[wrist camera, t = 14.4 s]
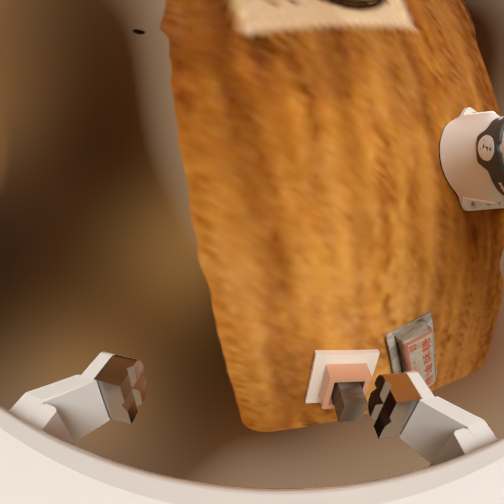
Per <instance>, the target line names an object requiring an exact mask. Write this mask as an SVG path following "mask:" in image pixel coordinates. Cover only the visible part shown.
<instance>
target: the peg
mask: <svg viewBox="0 0 504 504" xmlns="http://www.w3.org/2000/svg"><path fill="white" fill-rule="evenodd" d="M332 398H333V402H334V406H335V410H336V414H337V418H338V421H339V422H340V421H341V422H342V421H355V420H361V419H362V417H363V414H364V412H365V410H366V407H367V405H368V403H367V400H366V397H365V395H364V392H363V390H362V387H361V385H360V382H335V383H334V387H333V390H332Z"/></svg>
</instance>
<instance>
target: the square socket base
mask: <svg viewBox="0 0 504 504" xmlns="http://www.w3.org/2000/svg"><path fill="white" fill-rule="evenodd" d="M379 354H380V352H379V350H378V349H373V350H315V353H314V358H313V363H312V368H311V373H310V377H309V382H308V387H307V391H306V396H305V403H320V405H321V409H335V406H334V402H333V398H332V390H333V387H334V383H335V382H360V385H361V387H362V390H363V392H364V395H366V393H367V390H368V387H369V384H370V382H371V379H372V376H373V373H374V370H375V367H376V364H377V361H378V357H379Z"/></svg>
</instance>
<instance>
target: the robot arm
mask: <svg viewBox="0 0 504 504" xmlns="http://www.w3.org/2000/svg"><path fill="white" fill-rule="evenodd" d="M440 159H441V164H442V168H443V171H444V174H445V177H446V179H447V181H448V182H449V184H450V186H451V187H452V188H453V189H454V191H455V192H456V193H457V195H458V197H459V201H460V204H461V206H462V208H463V210H465V211H476V210H487V209H498V208H504V116H503V117H500V116H499V115H497V114H496V113H495V112H493V111H489V112H479V113H478V112H476V111H475V110H473V109H472V108H470V107H468V108H464V109H463V111H462V112H461V114H460V116H459V117H458V118H456V119H454V120H452V121H451V122H450V123H449V124H448V125H447V126H446V127H445V129H444V131H443V134H442V137H441V142H440ZM471 203H472V205H471ZM142 371H143V365H142V362H141V361H140V360H137V359H133V358H128V357H124V356H120V355H115V354H111V353H107V352H101V353H100V354H99V355H98V356H97V358H96V359H95V360H94V361H93V362H92V363H91V364H90V365H89V367H88V368H87V369H86V370H85V371H84V372H83V373H82V375H81V376H80V375H75V376H72V377H70V378H67V379H64V380H61V381H58V382H56V383H53V384H50V385H47V386H44V387H41V388H38V389H35V390H32V391H29V392H26V393H25V394H24V395H23V396H22V397H21V398H20V399H19V400H18V402H17V403H16V404H15V405H14V406H13V407H12V408H11V409H10V410H9V411H8V410H6V409H5V408H3V407H2V406H0V504H504V437H503V438H501V439H499V440H497V438H496V437H495V435H494V434H493V432H492V431H491V429H490V428H489V426H488V425H487V423H486V422H485V421H484V420H483V419H481V418H479V417H477V416H475V415H473V414H471V413H469V412H467V411H465V410H463V409H461V408H459V407H457V406H455V405H454V404H452V403H450V402H448V401H446V400H444V399H442V398H440V397H438V396H437V397H434V395H433V394H432V392H431V391H430V389H429V388H428V386H427V385H426V383H425V382H424V380H423V379H422V377H421V376H420V374H419V373H418V372H417V371H409V372H403V373H395V374H384V375H379V376H378V377H377V378H376V381H375V386H376V389H375V390H374V391H373V392H372V393H371V394H370V397H369V401H368V411H369V414H370V417H371V418H372V419H374V420H375V421H376V422H375V424H374V428H375V431H376V433H377V436H378V439H382V438H390V437H396V436H400V438H401V439H402V440H403V441H405V442H406V443H407V444H408V445H409V446H410V447H412V448H413V449H414V450H415V451H416V452H418V453H419V454H420V455H421V456H422V457H424V458H425V459H426V460H427V461H429V462H430V463H431V464H430V466H429V467H428V468H424V469H421V470H417V471H413V472H409V473H406V474H401V475H397V476H393V477H388V478H383V479H378V480H372V481H367V482H360V483H354V484H346V485H338V486H327V487H314V488H291V489H290V488H284V489H283V488H282V489H281V488H276V489H275V488H274V489H273V488H250V487H237V486H227V485H226V486H225V485H218V484H210V483H203V482H197V481H191V480H185V479H180V478H175V477H170V476H166V475H162V474H157V473H153V472H149V471H145V470H142V469H138V468H135V467H131V466H128V465H125V464H122V463H118V462H115V461H113V460H110V459H107V458H104V457H101V456H98V455H96V454H93V453H91V452H88V451H86V450H83V449H80V448H78V447H76V445H75V443H74V442H75V441H76V440H78V439H80V438H81V437H83V436H85V435H86V434H88V433H90V432H91V431H93V430H95V429H96V428H98V427H99V426H101V425H103V424H104V423H106V422H107V421H109V420H110V419H113V420H117V421H121V422H124V423H128V424H132V422H133V420H134V418H135V417H136V415H137V413H138V410H137V406H138V405H140V404H142V403H143V401H144V399H145V395H146V380H145V378H144V377H143V376H142V375H141V373H142Z"/></svg>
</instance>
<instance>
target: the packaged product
mask: <svg viewBox="0 0 504 504" xmlns="http://www.w3.org/2000/svg"><path fill="white" fill-rule="evenodd" d="M385 336H386V341H387V345H388V350H389V357H390V362H391V368H392V374H395V373H403V372H409V371H417V372H418V373H419V374H420V376H421V377H422V379H423V380H424V382H425V383H426V385H427V386H428V388H430V387H432V386H433V385H434V384H435V382H436V378H437V368H436V352H435V344H434V332H433V322H432V315H431V312H429V313H427V314H425V315H423V316H421V317H419V318H417V319H415V320H413V321H411V322H409V323H407V324H406V325H404V326H402V327H399V328H397V329H395V330H393V331H391V332H389V333H387V334H386V335H385Z"/></svg>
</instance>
